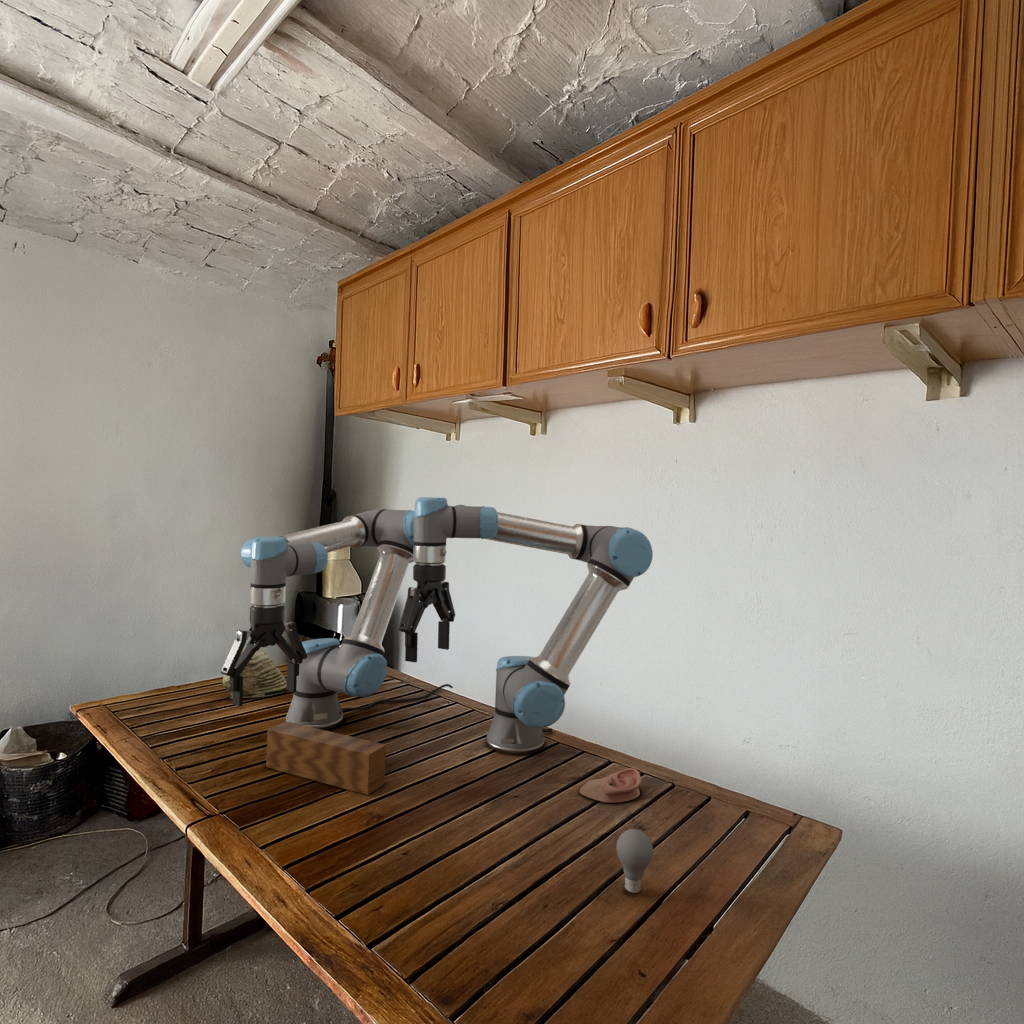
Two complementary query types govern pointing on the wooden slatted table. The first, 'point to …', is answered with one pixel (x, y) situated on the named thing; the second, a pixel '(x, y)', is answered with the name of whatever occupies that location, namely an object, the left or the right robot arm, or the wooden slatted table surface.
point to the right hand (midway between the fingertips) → (427, 655)
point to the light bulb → (634, 857)
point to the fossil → (259, 677)
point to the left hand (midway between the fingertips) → (265, 697)
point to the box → (326, 757)
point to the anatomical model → (614, 787)
